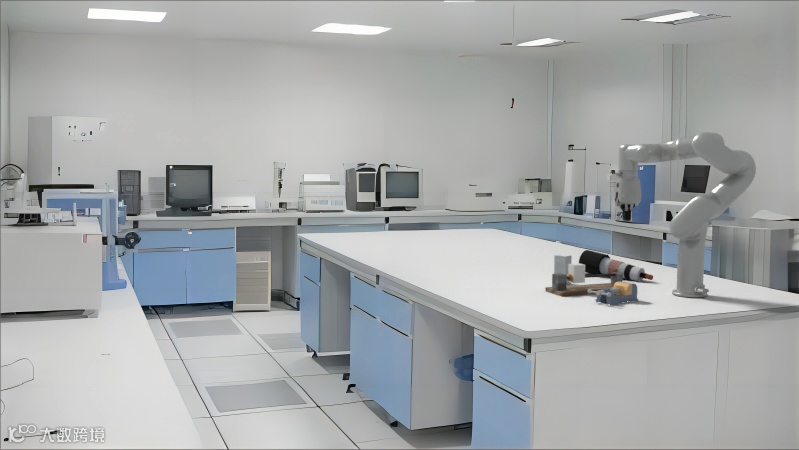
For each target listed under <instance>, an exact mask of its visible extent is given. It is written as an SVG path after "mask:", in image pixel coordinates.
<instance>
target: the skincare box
mask: <svg viewBox="0 0 799 450" xmlns="http://www.w3.org/2000/svg"><path fill="white" fill-rule="evenodd" d="M553 257H554V261H553V262H554V264H553V265H554V267H553V268H554V269H553V270H554V271H553V274H557V273H562V274H566V275H567V274H568V265H569V264H572V258H573V257H572V255H569V254H562V253H561V254H559V253H558V254H554V256H553ZM571 284H572V283H571V282H568V280H567V285H571Z"/></svg>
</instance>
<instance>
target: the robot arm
mask: <svg viewBox="0 0 799 450" xmlns="http://www.w3.org/2000/svg"><path fill="white" fill-rule="evenodd" d="M695 158H701V159H703V161H706V162H707V163H708V164H709V165H711V166H712V167H714V169H716V170H718V171H720V172H721V173H722V174H723V173H724V174H728V175H727V176H726V177H724V178H723V179H722V180H721V181H720V182H719V183H717V185H716V186H715V187H713V188H712V189H711V190H710V191H709V192H707V193H701V194H697V195H696V196H695V197H693V198H692V199H691V200H689V202H688V203H687V204H686V205H685V206H684V207H682V208H681V209H680V210H679V211H678V212H677V213H676V214H675V215H674V216H673V217H672V219H671V221H670V222H669V232H670V233H671V235H672V236H673V237H674V238H676V239H678V244H677V245H678V246H677V247H678V248H677V263H676V264H677V268H676V270H677V271H676V289H672V291H671V293H672V295H673V296H678V297H684V298H705V297H707V296H708V293H709V292H710V291H709V288H705V287H706V285H705V284H704V270H705V252H706V251H705V248H706V241H707V240H706V239H707V233H708V223H707V222H708V221H709V220H713V219H716V218H719V217H720V216H721V215H722V214H723V213H725V211H726V210H727V209H729V207H731V205H733V203H735V201H737V199H738V198H739V197H740V196H741V195H742V194H743V193H744V192H746V190H747V189H748V188H749V187H750V186H751V185H752V183H753V181H754V179H755V177H756V173H757V170H756V169H757V167H756V162H755V160H754V158H753V156H752V155H751V153H749V152H747V151H744V150H738V149H735V150H733V149H731V148H730V147H729V146H727V145H725V139H724V138H723V136H722V135H721V134H719V133H717V132H711V131H709V132H707V131H706V132H700V133H698V134H695V135H687V136H681V137H680V136H679V137H677V138H676V139H675V140H672V141H667V142H662V143H661V142H660V143H638V144H621V145H620V146H619V147H618V172H616V174H615V175H616V176H617V179H616V180H615V187H614V188H615V189H614V202H615V207H618V208H620V209H621V211H622V221H625V222H630V221H631V220H632V212H633V210H634V208H635V207H638V206H639V205H640V203H641V202H642V186H641V180H640V178H639V177H638V176H639V163H640V164H651V163H653V164H655V163H656V164H657V163H662V162H663V163H664V162H671V161H677V160H678V161H682V160H689V159H695Z"/></svg>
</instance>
